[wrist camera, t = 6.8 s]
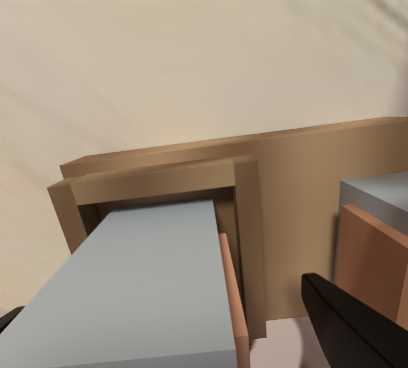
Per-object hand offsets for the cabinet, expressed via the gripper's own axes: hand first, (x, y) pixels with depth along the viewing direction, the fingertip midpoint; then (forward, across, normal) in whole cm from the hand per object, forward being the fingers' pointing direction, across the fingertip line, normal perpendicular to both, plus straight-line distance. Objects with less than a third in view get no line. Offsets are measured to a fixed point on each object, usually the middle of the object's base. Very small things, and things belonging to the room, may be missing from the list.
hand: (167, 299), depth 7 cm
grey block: (+2, 0, 0) cm, 3 cm away
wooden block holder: (+4, -3, 0) cm, 6 cm away
